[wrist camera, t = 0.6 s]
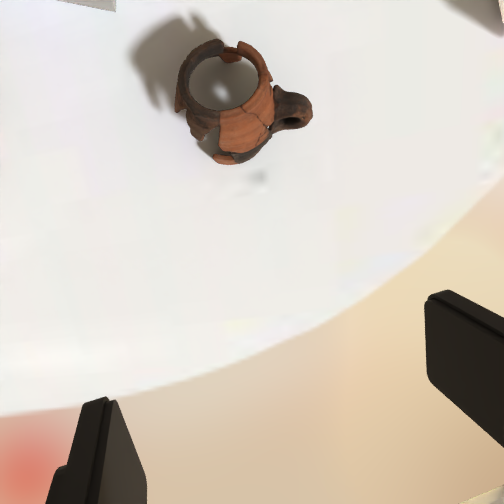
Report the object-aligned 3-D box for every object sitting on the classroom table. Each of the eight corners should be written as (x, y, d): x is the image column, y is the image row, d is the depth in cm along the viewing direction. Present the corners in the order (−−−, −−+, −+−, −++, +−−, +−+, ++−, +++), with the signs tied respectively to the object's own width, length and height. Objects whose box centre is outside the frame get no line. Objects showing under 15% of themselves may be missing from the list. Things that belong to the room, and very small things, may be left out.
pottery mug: (187, 174, 37) (166, 133, 29) (187, 87, 39) (168, 25, 31) (309, 170, 37) (322, 128, 29) (304, 83, 39) (316, 20, 30)
